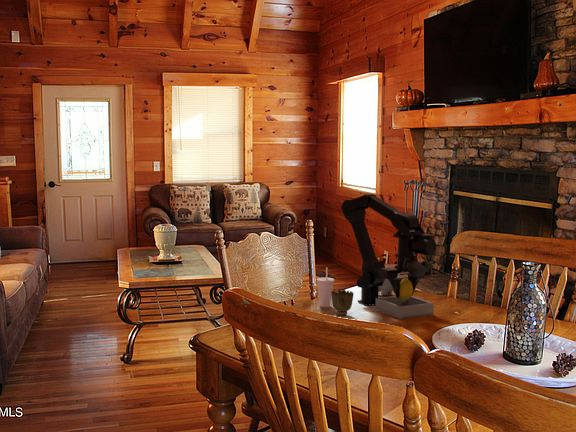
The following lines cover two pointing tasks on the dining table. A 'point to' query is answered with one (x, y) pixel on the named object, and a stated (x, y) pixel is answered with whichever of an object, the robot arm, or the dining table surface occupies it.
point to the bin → (404, 307)
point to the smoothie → (325, 290)
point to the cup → (342, 301)
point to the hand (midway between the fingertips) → (404, 296)
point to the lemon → (405, 289)
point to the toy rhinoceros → (386, 288)
